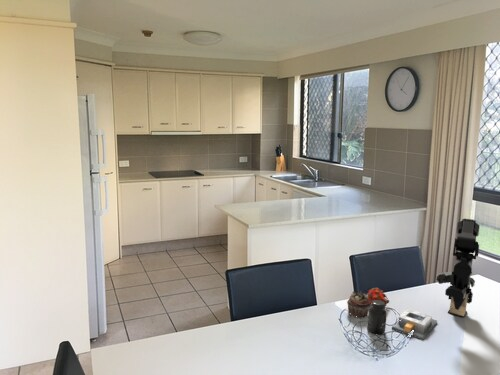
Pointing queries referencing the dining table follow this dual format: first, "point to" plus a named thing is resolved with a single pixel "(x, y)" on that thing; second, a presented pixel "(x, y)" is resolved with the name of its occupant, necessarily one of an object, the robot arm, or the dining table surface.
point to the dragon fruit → (377, 295)
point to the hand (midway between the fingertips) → (457, 307)
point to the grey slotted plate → (415, 323)
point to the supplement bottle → (377, 318)
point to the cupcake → (358, 304)
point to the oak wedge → (461, 310)
